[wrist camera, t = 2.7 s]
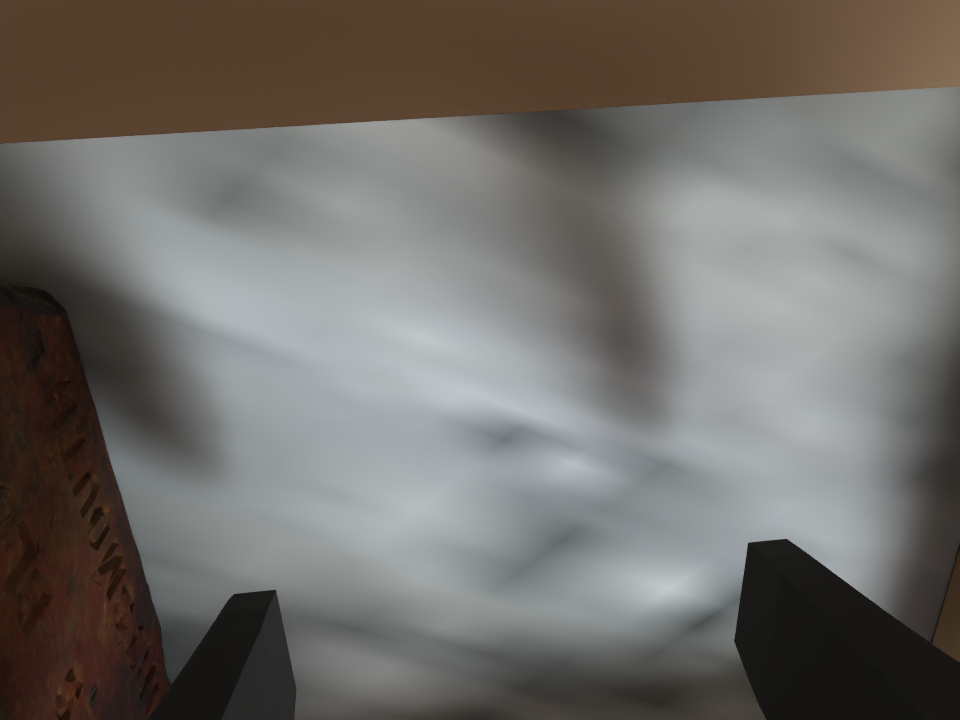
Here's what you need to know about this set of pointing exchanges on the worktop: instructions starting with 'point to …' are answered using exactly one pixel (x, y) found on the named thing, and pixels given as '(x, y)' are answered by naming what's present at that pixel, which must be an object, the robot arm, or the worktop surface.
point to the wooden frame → (447, 66)
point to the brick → (65, 539)
